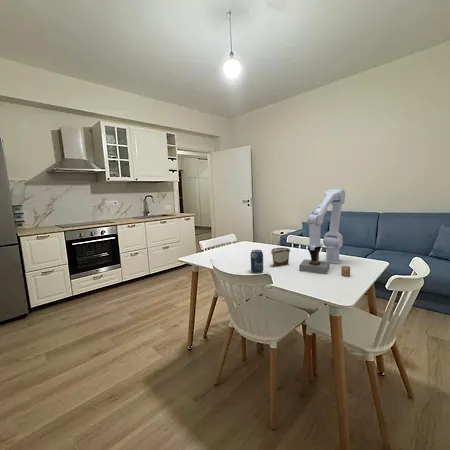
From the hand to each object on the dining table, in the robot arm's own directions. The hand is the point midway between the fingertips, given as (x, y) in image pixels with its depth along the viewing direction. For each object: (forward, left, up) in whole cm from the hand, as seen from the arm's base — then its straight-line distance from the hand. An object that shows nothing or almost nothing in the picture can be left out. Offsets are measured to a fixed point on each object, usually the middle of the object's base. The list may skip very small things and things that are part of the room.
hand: (314, 260), depth 137 cm
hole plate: (0, 0, -5) cm, 5 cm away
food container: (-1, -21, -6) cm, 22 cm away
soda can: (+16, -28, -6) cm, 33 cm away
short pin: (+4, +16, -6) cm, 17 cm away
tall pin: (0, 0, -3) cm, 3 cm away
